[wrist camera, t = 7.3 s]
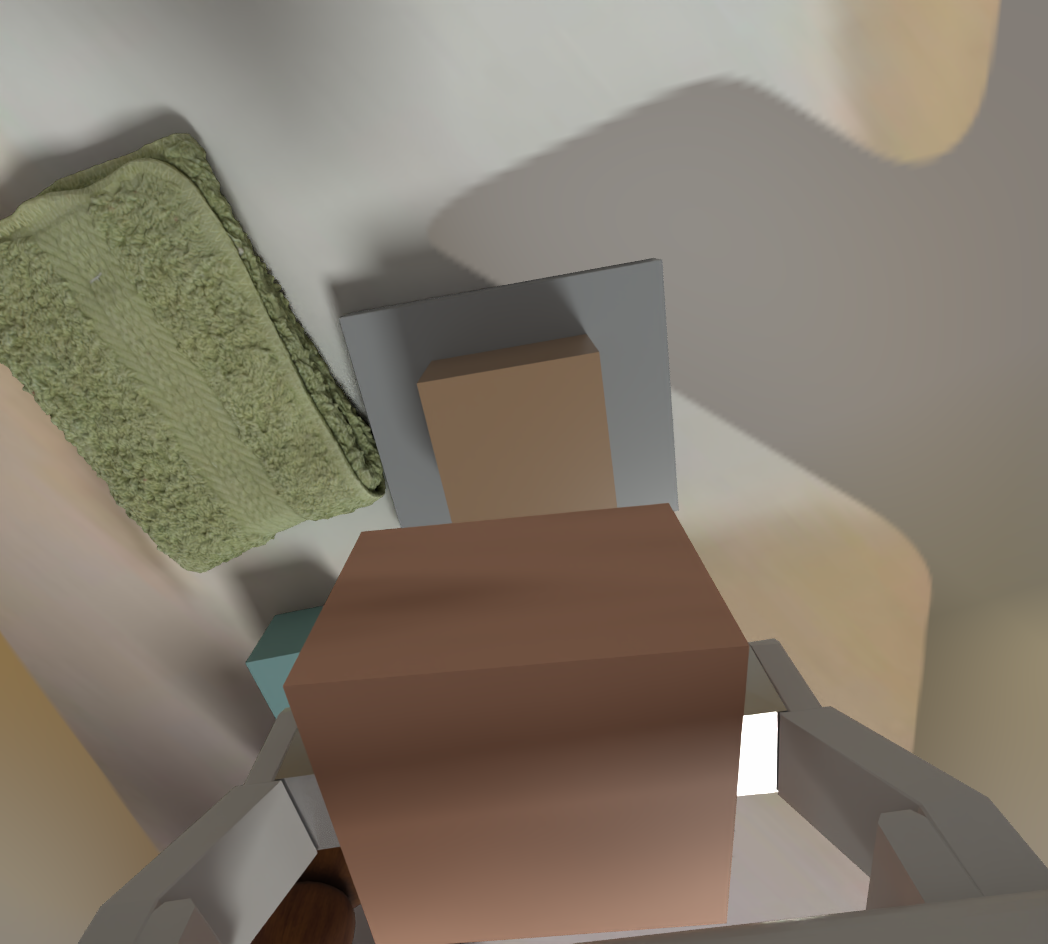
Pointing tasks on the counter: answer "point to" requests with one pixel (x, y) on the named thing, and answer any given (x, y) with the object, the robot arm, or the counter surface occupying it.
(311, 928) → the wooden figurine
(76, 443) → the washcloth
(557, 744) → the brick
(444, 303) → the baseplate
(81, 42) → the counter surface
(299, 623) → the brick
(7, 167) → the counter surface
